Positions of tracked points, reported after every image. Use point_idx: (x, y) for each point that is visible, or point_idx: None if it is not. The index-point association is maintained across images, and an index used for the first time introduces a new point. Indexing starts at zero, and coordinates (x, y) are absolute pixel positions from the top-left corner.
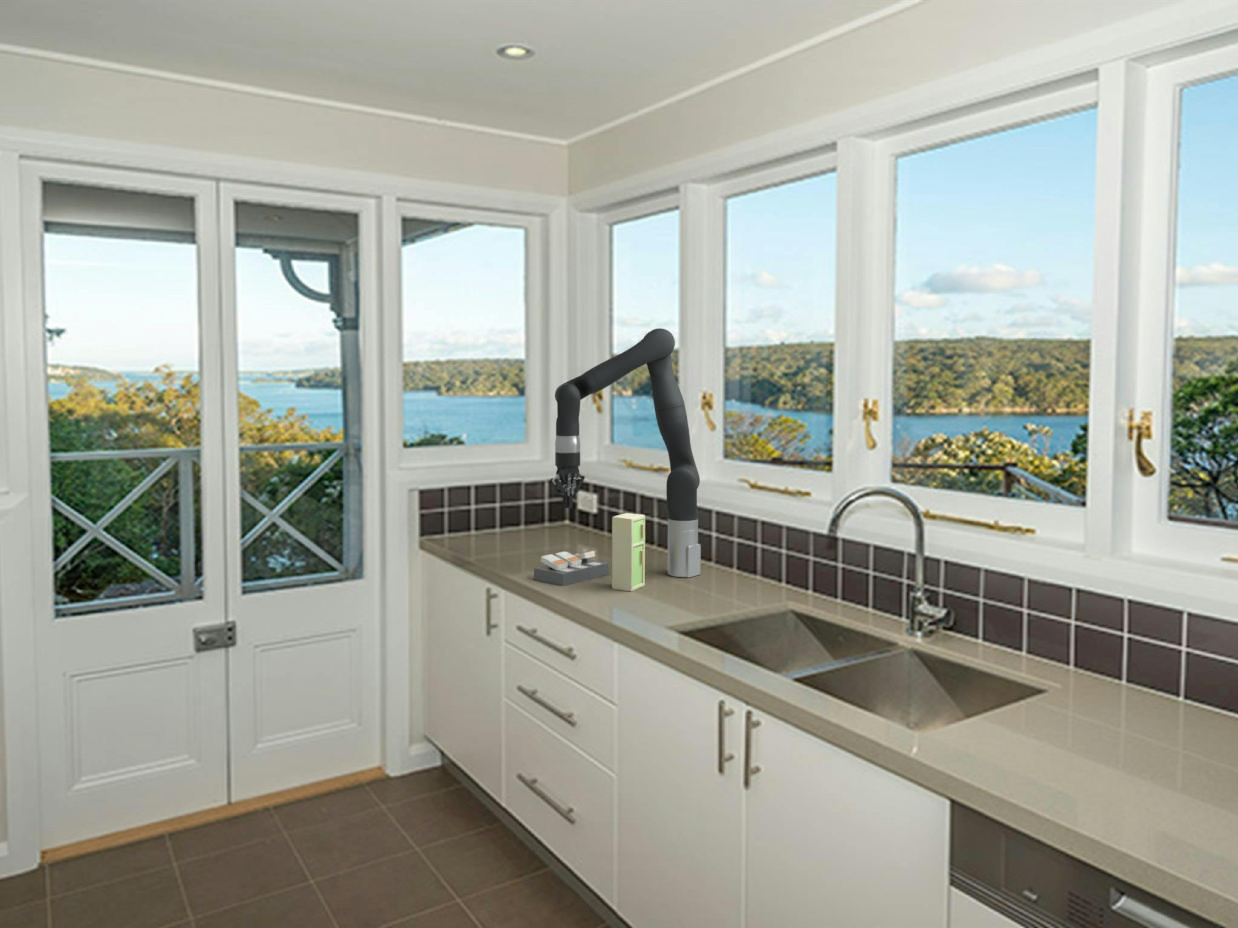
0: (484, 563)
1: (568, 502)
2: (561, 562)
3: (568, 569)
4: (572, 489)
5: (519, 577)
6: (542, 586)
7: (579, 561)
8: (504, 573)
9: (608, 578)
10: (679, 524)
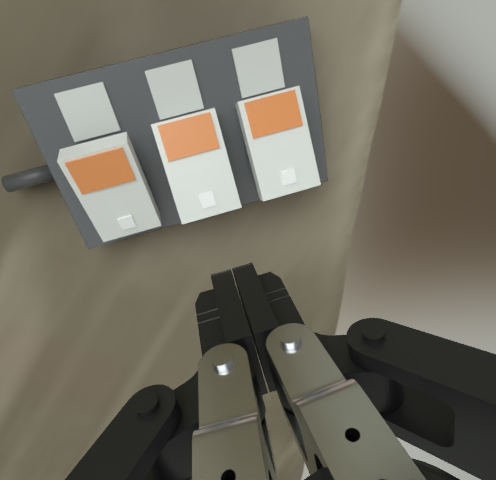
0: None
1: (264, 289)
2: (268, 107)
3: (247, 72)
4: (235, 402)
5: (328, 220)
6: (350, 62)
7: (165, 121)
8: (329, 284)
9: (62, 15)
10: None
